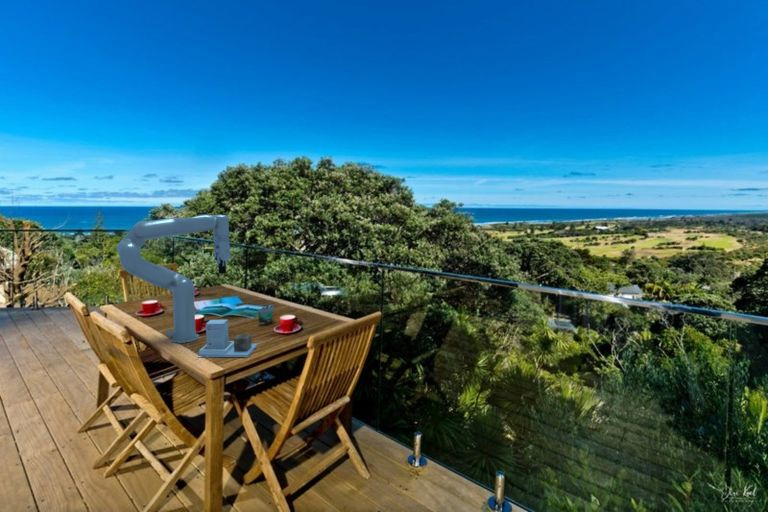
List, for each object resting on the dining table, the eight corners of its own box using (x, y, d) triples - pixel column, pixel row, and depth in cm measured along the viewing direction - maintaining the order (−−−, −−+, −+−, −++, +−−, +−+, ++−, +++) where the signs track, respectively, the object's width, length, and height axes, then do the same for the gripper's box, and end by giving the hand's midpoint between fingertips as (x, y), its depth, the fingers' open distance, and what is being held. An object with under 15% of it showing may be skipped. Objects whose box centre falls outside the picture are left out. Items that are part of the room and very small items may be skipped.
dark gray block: (234, 351, 177) (233, 338, 176) (238, 346, 183) (238, 334, 182) (247, 351, 177) (246, 338, 176) (251, 346, 183) (251, 334, 182)
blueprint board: (198, 357, 173) (198, 350, 172) (211, 346, 187) (211, 340, 186) (247, 357, 173) (247, 351, 173) (257, 346, 187) (257, 340, 187)
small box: (229, 345, 183) (228, 319, 182) (224, 350, 177) (223, 323, 175) (211, 346, 183) (210, 319, 181) (206, 351, 176) (205, 323, 175)
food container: (267, 327, 217) (267, 309, 216) (257, 326, 218) (257, 308, 217) (278, 320, 229) (277, 304, 228) (268, 319, 230) (268, 303, 229)
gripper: (222, 240, 193) (224, 276, 196) (233, 237, 208) (234, 271, 211) (207, 239, 193) (209, 275, 196) (219, 237, 208) (220, 270, 210)
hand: (222, 273), depth 203 cm, fingers closed
